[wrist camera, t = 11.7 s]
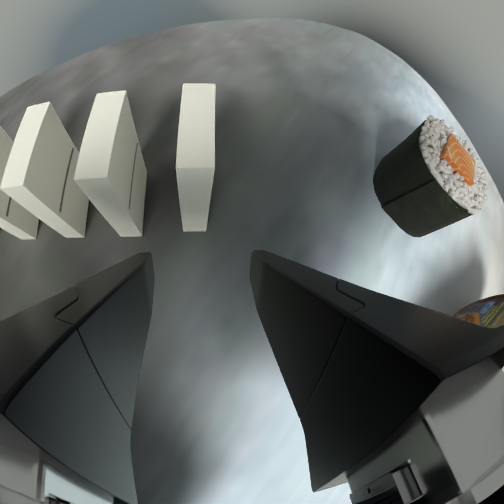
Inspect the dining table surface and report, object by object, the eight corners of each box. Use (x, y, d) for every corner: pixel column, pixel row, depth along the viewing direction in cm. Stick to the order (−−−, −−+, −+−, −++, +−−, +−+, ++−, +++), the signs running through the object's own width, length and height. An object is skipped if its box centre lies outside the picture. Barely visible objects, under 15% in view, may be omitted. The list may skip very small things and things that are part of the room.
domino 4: (205, 168, 21) (215, 84, 12) (206, 231, 20) (215, 167, 11) (184, 168, 21) (183, 83, 12) (183, 231, 20) (175, 167, 11)
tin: (473, 296, 24) (534, 284, 16) (479, 321, 23) (539, 315, 15) (378, 372, 20) (455, 387, 12) (387, 402, 20) (460, 425, 12)
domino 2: (93, 175, 19) (50, 101, 11) (84, 237, 18) (22, 185, 10) (75, 176, 19) (27, 106, 10) (66, 238, 18) (-1, 188, 9)
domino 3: (147, 172, 20) (126, 90, 12) (142, 236, 19) (107, 177, 10) (126, 173, 20) (96, 93, 11) (120, 236, 19) (73, 179, 10)
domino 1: (46, 179, 18) (-7, 117, 10) (36, 238, 17) (-34, 194, 9) (32, 181, 18) (-23, 122, 9) (21, 239, 17) (-49, 197, 8)
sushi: (424, 252, 23) (488, 228, 16) (361, 193, 23) (418, 148, 16) (443, 194, 26) (494, 165, 18) (389, 142, 26) (435, 98, 18)
